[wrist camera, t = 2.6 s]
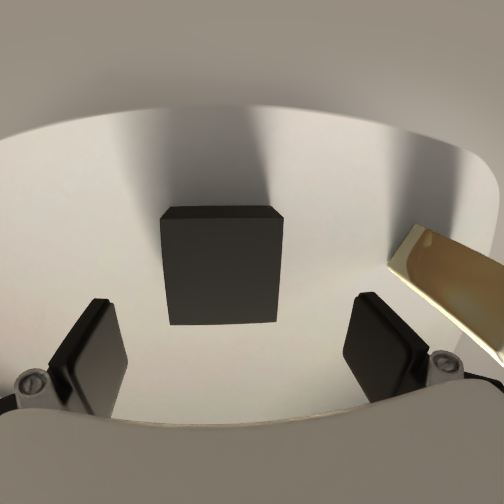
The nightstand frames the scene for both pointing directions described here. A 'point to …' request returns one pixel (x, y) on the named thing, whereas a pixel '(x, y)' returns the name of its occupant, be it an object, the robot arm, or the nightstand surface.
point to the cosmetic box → (455, 284)
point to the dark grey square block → (221, 264)
